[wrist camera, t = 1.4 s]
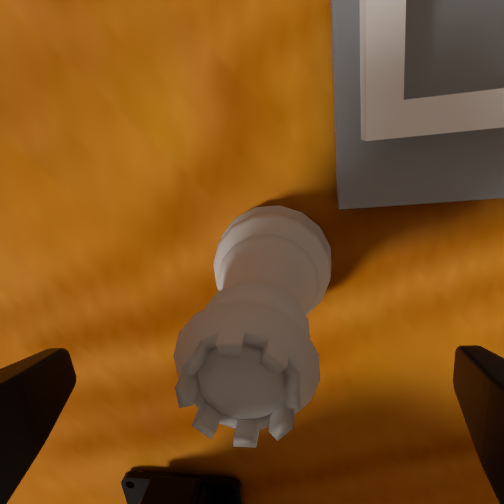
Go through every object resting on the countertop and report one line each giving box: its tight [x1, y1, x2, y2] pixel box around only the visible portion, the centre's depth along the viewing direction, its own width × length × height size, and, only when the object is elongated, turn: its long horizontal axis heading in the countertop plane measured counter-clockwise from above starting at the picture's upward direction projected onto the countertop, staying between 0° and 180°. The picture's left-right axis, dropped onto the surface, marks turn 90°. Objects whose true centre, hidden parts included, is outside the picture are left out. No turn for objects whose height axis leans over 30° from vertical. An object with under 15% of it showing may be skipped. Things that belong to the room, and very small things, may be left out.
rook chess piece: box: [174, 205, 332, 448], centre depth 11 cm, size 4×4×8 cm
